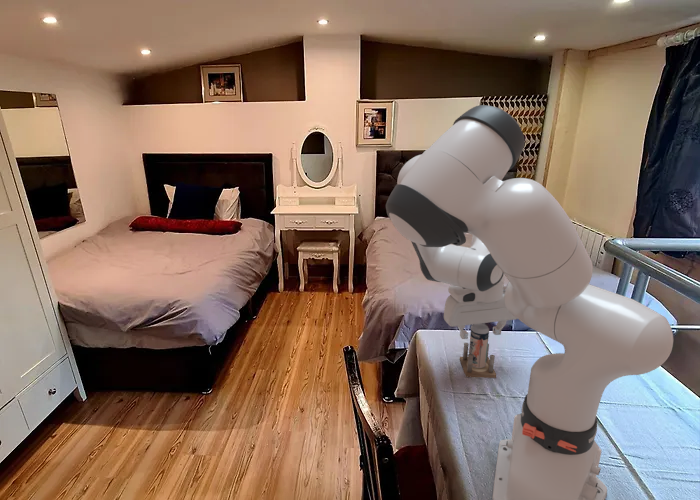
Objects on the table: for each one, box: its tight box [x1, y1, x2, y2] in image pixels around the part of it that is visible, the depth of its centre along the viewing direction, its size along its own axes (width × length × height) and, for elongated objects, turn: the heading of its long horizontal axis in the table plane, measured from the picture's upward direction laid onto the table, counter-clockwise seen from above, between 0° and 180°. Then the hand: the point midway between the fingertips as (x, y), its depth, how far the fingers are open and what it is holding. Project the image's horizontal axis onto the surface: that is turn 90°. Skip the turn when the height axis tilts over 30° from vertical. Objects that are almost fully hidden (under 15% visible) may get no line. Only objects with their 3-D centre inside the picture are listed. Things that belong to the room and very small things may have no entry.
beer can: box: [468, 323, 490, 368], centre depth 101 cm, size 5×5×12 cm
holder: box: [459, 342, 498, 379], centre depth 102 cm, size 8×8×6 cm
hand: (480, 335), depth 100 cm, fingers open, 8 cm apart
